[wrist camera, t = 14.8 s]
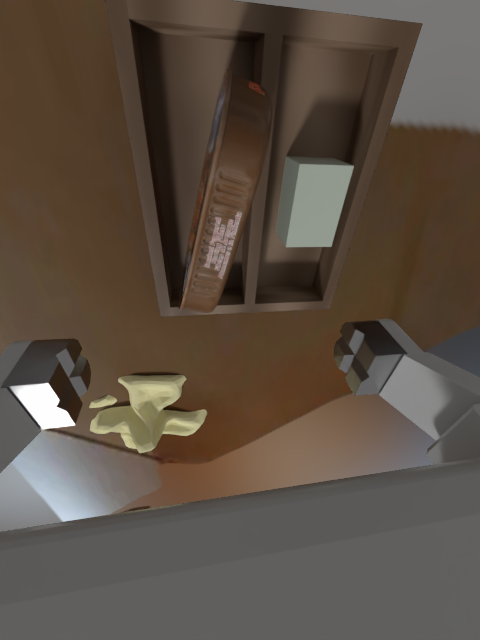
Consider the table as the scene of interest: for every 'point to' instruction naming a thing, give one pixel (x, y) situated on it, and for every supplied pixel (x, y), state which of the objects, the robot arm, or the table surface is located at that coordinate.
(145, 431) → the cloth
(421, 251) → the table surface
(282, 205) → the sage block
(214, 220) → the tin
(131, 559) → the robot arm
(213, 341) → the table surface
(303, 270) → the caddy
